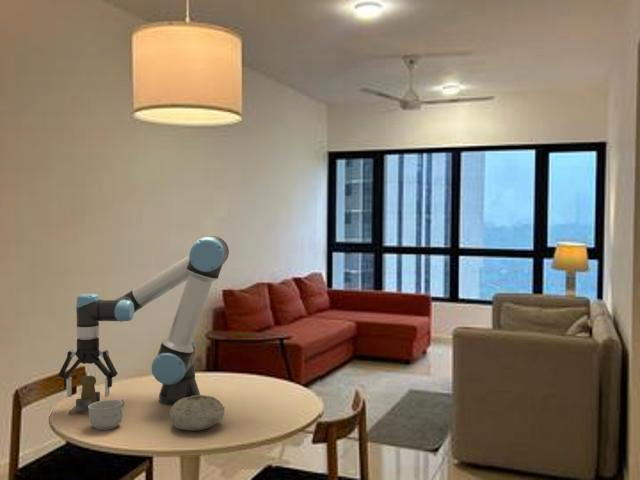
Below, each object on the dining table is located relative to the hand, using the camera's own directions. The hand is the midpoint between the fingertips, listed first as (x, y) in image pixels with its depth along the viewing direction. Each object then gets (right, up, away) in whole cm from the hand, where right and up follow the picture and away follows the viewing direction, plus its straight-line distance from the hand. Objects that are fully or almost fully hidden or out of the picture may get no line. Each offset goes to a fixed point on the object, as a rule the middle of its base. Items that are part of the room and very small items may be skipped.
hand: (88, 396), depth 224 cm
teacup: (+13, -6, -16) cm, 21 cm away
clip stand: (0, -5, 0) cm, 5 cm away
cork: (0, -4, 0) cm, 4 cm away
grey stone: (+42, -6, -16) cm, 46 cm away
